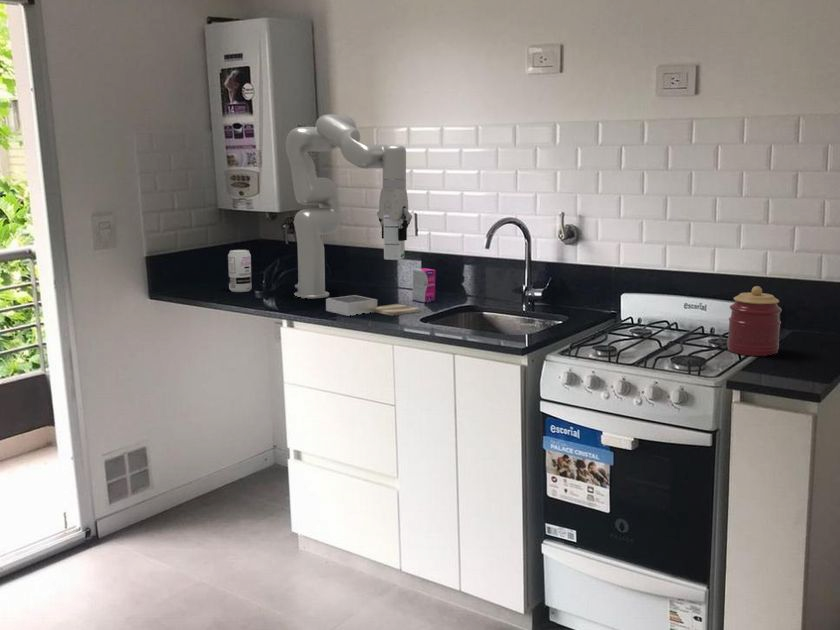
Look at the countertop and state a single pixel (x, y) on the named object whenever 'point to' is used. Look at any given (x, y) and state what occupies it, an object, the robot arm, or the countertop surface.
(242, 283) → the supplement can
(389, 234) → the syrup box
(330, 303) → the flat grey box
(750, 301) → the canister
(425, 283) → the supplement box
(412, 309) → the birch board
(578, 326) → the countertop surface
